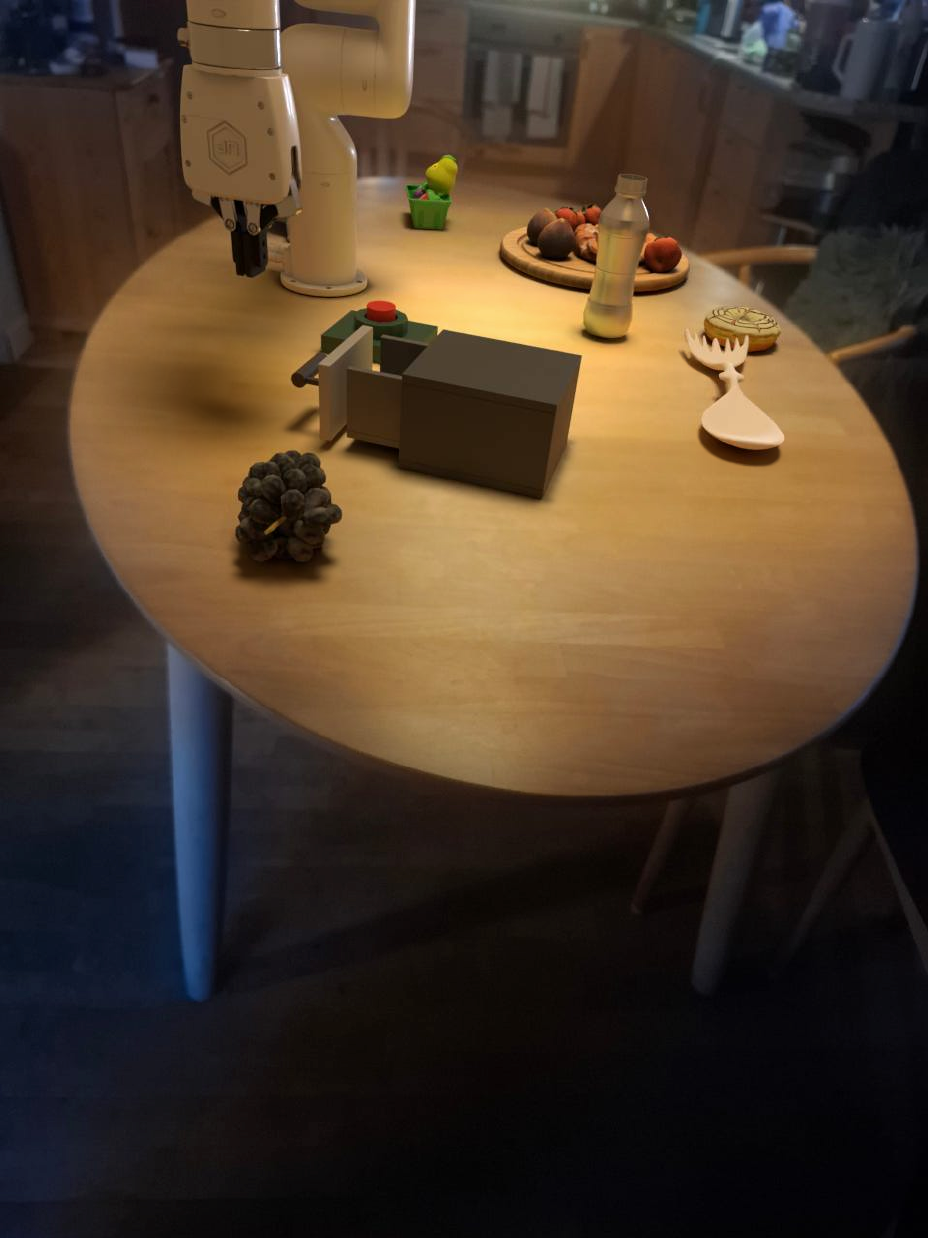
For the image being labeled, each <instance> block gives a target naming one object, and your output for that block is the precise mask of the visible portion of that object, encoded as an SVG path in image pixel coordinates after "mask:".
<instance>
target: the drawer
mask: <svg viewBox="0 0 928 1238" xmlns="http://www.w3.org/2000/svg"><path fill="white" fill-rule="evenodd" d="M429 344H430V343H425V342H419V341H414V340H409V339H404V338H399V337H393V336H388V335H382V336H381V340H380V364H379V370H373V362H372V359H373V327H369V326H364V325H362V326H361V327H360V328H359V329H358V330H357V331H356V332H354V333H353V334H352V335H351V336H350V337H349V338H348V339H346V340H345V341H344V342H343V343H342V344H341V345H339V346H338V347H337V348H336V349H335V350H334V351H333V352H331V353H330V354H328V355H327V353H323V352H321V351H319V352H317V353H316V354H314V356H312V357H311V358H310V359H308V360H307V361H305V363H304V364H302V366H300V367H298V369H297V370H295V371H294V372H293V373H292V374H291V376H290V381H291V384H292V385H293V386H294V387H296V388H298V389H301V388H304V387H305V386H306V385H310V386H314V387H318V412H319V439H320V440H325V441H332V440H333V439H334V438H335V437H336V436H337V435H338V434H339V433H340V431H342V429H343V428H344V427H345V426H346V438H349V439H353V440H356V441H357V440H358V441H362V442H366V443H372V444H376V445H381V446H386V447H389V448H390V447H391V448H395V449H399V441H400V415H401V389H402V374H403V372H404V371H405V370H406V369H407V368H408V367H409V366H410V365H411V364H412V363H413V362H414V360H415V359H416V358H417V357H418V356H419V355H420V354H421V353H422V352H423V351H424V350H425V348H426V347H427V346H428V345H429ZM316 376H318V377H316Z"/></svg>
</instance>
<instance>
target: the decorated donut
mask: <svg viewBox="0 0 928 1238" xmlns="http://www.w3.org/2000/svg"><path fill="white" fill-rule="evenodd" d="M703 329H704V333H705V334H706V336H707V337H708V339H710V341H712V342H713V340H714V339H715V338H717V340H718V342H719V345H720V347H724V348H725V345H726V339H727V338H728V339H729V343H730V348H731V351H733V350H734V344H735V339H736V337H737V338H738V341H739V345H740V347H741V346H743V343H744V339H745V336H746V335H748V337H749V347H748V351H747V353H752V352H760V351H765V350H767V349H769V348H770V347H772V346H773V345H774V344H775V343H776V341H777V340H778V338H780V335H781V334H782V329H781V326H780V323H779V322H778V321H777V320H776V319H775V318H774V317H773V316H771V315H770V314H767V313H764V312H762V311H761V310H758V309H754V308H753V307H748V306H721V307H718V308H714V309H711V310H709V311H708V312H707V313H706V314H705V318H704V320H703Z"/></svg>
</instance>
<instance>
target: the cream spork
mask: <svg viewBox="0 0 928 1238" xmlns="http://www.w3.org/2000/svg"><path fill="white" fill-rule="evenodd" d="M693 335H694V336H693V337H692V335H691V333H690V331H689V329H688V327H685V330H684V335H683V336H684V339H685V342H686V344H687V346H688V348H689V349H690V351H691V353H692V355H693V356H694V357H695V359H696V360H698V361H699V362H700V363H701V364H702V365H704V366H706V367H708V368H710V369H711V370H715V371H723V372H720V373H719V374H718V376H719V379H720V380H721V381H724V382H726V383H728V385H729V388H728V390H727V392H726V393H725V394H724V395H722V396H721V397H720V398H719V399H717V400H716V401H715V402H713V403H712V404H710V405H709V406H708V407H707V408H706V409H705V410H704V411H703V413H702V414H701V420H700V421H701V425H702V427H703V428H704V430H705V431H706V432H707V433H708V434H709V435H711V436H712V437H713V438H716V439H717V440H719V441H721V442H722V443H725V444H727V445H731V446H733V447H737V448H740V449H746V450H757V451H758V450H767V449H772V448H776V447H778V446H779V445H781V444H782V443H783V442H784V441H785V435H784V433H783V431H782V430H781V429H780V427H779V426H778V425H777V423H776V422H775V421H774V420H773V419H772V418H771V417H769V416H768V415H767V414H766V413H765V412H763V410H761V409H760V408H759V407H758V406H757V405H756V404H755V403H754V402H752V401H751V400H750V399H749V398H748V397H747V396H746V395H745V393H744V392H743V391H742V389H741V387H740V385H739V383H742V382H744V381H745V376H744V375H743V374H742V373H740V372H738V371H737V370H736V369H735V368H737V367H739V366H741V364H743V363H744V362H745V361H746V358H747V356H748V352H747V351H748V347H749V337H748V335H746V336H745V339H744V343H743V346H741V347H740V345H739V341H738V338H737V337H736V339H735V344H734V350H732V349H731V348H730V343H729V339H728V338H727V339H726V345H725V347H724V351H723V352H722V349H721V346H720V345H719V342H718V340H717V338H715V339H714V340H713V341H712V344H711V348H710V349H709V346H708V342H707V339H706V336H705V335H702V340H701V342H700V340H699V337H698V333H697V332H694V334H693Z"/></svg>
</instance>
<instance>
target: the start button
mask: <svg viewBox="0 0 928 1238" xmlns="http://www.w3.org/2000/svg"><path fill="white" fill-rule="evenodd" d="M366 308H367V319H368V320H370V321H375V322H392V321H395V320H396V310H397V306H396V304H394V303H393V302H391V301H388V300H387V301H386V300H372V301H369V302H367V304H366Z"/></svg>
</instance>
